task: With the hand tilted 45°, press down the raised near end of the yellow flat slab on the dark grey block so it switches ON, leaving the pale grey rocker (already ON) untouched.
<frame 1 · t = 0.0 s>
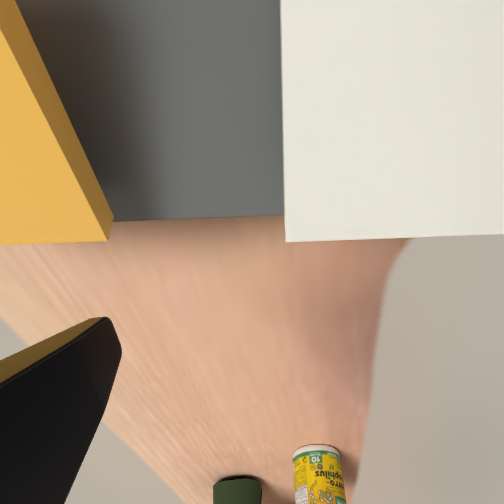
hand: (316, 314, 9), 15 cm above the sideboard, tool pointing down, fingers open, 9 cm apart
supplement bottle: (315, 451, 51), on the sideboard
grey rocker: (481, 78, 13), point 9 cm above the sideboard, hinge at 9.0°
dark grey block: (204, 45, 21), on the sideboard
character mug: (238, 480, 58), on the sideboard
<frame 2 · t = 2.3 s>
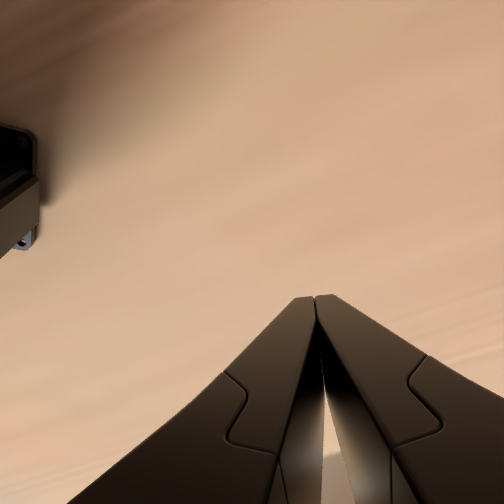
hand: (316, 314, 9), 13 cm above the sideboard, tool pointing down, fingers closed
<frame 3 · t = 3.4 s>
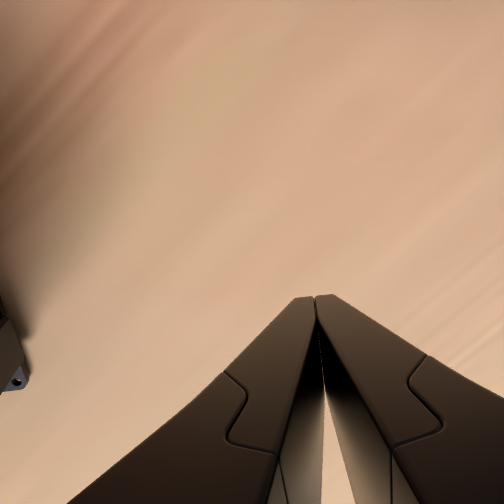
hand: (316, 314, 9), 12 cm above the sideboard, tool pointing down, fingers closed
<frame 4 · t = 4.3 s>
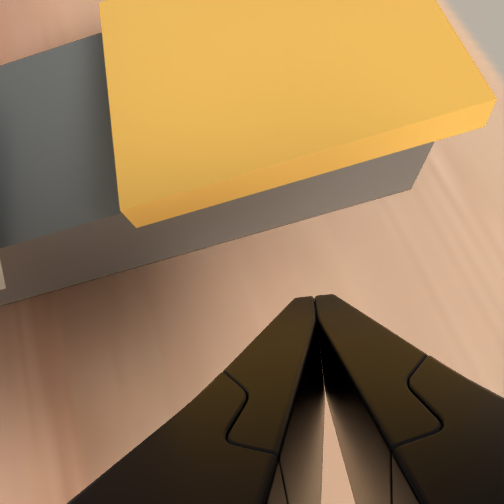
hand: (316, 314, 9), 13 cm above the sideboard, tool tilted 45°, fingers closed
dark grey block: (130, 192, 26), on the sideboard
yellow flat slab: (266, 56, 16), point 9 cm above the sideboard, hinge at -9.0°
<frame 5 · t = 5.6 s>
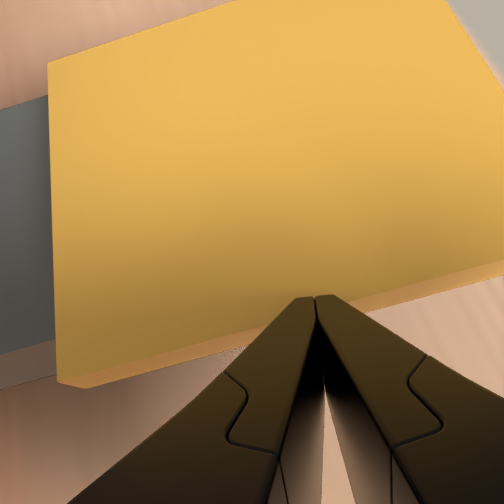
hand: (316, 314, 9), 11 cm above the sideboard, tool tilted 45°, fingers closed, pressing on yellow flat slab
dark grey block: (104, 266, 22), on the sideboard
yellow flat slab: (263, 143, 12), point 9 cm above the sideboard, hinge at -8.7°, touching gripper
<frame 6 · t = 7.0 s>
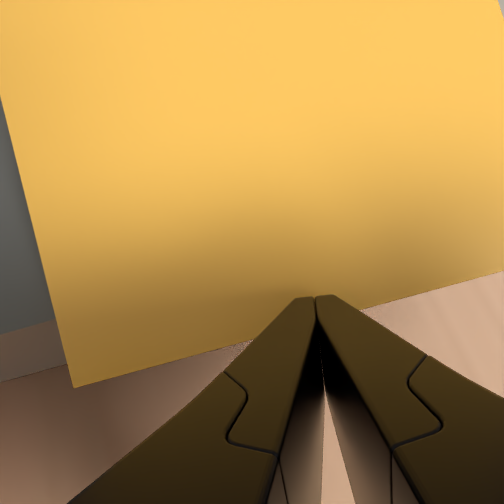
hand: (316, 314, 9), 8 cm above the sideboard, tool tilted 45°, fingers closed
dark grey block: (79, 255, 20), on the sideboard
yellow flat slab: (256, 117, 11), point 8 cm above the sideboard, hinge at 13.4°, touching dark grey block
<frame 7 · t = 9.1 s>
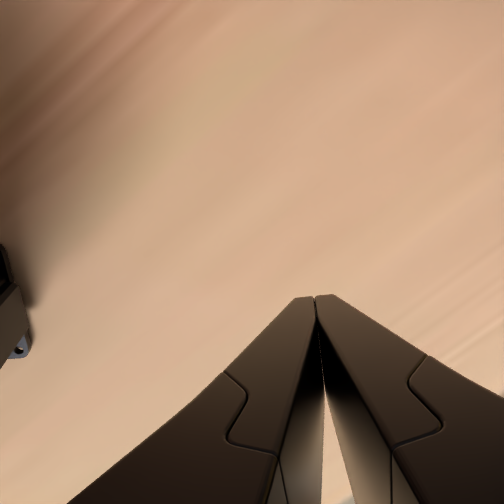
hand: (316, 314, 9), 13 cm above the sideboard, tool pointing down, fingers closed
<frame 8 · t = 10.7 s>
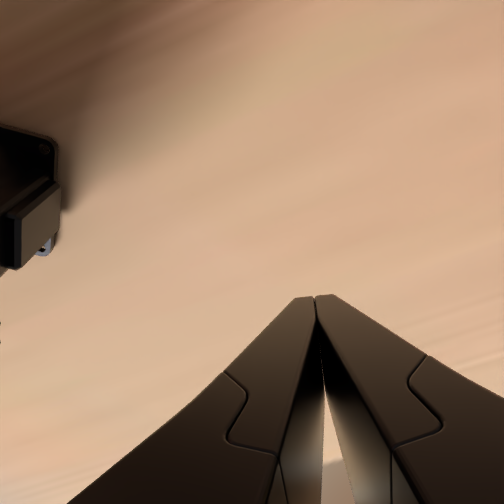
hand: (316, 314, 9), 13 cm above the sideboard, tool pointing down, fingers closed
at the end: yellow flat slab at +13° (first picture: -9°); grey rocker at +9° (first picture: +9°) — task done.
